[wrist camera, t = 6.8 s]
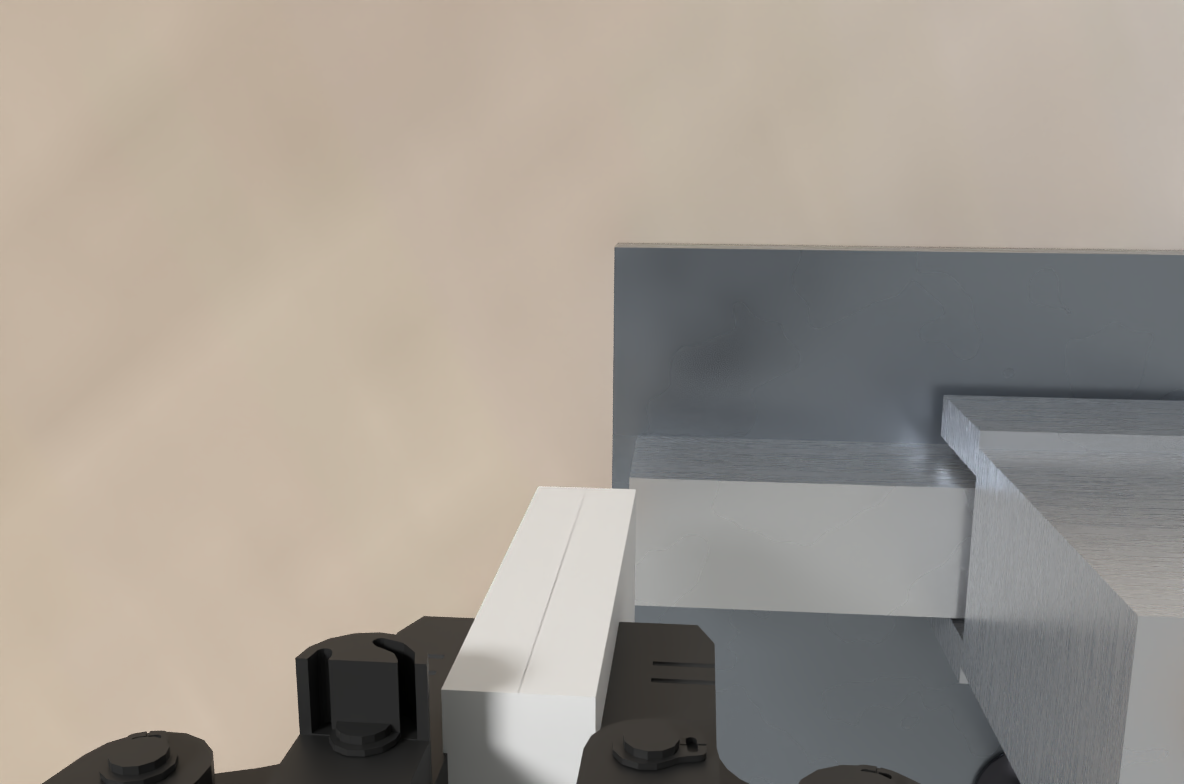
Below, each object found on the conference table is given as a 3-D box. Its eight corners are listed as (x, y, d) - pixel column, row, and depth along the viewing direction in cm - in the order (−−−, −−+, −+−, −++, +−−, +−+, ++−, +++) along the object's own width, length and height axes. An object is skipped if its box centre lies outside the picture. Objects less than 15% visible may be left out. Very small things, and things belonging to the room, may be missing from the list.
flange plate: (1782, 258, 21) (2026, 283, 17) (1623, 952, 24) (1800, 1104, 21) (617, 242, 23) (603, 262, 19) (610, 890, 26) (597, 1019, 22)
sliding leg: (1215, 401, 21) (1784, 679, 10) (1159, 842, 23) (1585, 1475, 12) (943, 395, 22) (1207, 655, 11) (911, 828, 24) (1105, 1429, 13)
